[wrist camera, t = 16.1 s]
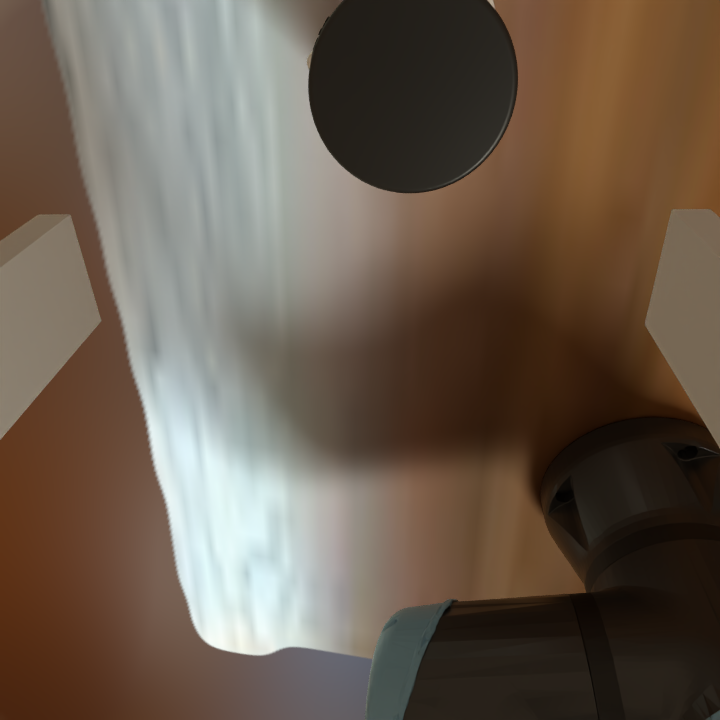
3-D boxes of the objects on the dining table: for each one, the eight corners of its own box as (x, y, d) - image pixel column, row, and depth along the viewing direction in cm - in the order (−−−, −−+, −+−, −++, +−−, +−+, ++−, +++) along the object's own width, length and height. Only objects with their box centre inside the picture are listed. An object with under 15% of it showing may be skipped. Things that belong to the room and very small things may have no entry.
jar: (308, -14, 33) (264, 15, 23) (459, -85, 31) (481, -87, 21) (371, 148, 38) (357, 230, 28) (507, 96, 36) (543, 164, 26)
